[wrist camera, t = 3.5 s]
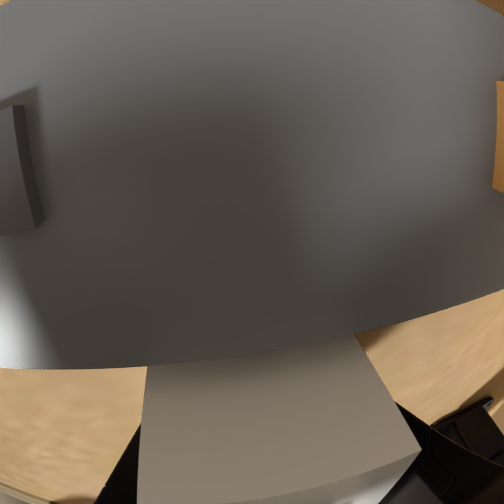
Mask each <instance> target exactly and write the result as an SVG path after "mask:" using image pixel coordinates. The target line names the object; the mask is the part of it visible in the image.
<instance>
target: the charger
mask: <svg viewBox="0 0 504 504" xmlns="http://www.w3.org/2000/svg"><path fill="white" fill-rule="evenodd" d="M421 450H422V449H421V447H420V446H419V444H418V442H417V440H416V438H415V437H414V435H413V433H412V431H411V430H410V428H409V426H408V424H407V423H406V421H405V419H404V417H403V416H402V414H401V412H400V410H399V409H398V407H397V405H396V404H395V402H394V400H393V398H392V397H391V395H390V393H389V392H388V390H387V388H386V387H385V385H384V383H383V382H382V380H381V378H380V377H379V375H378V373H377V372H376V370H375V368H374V367H373V365H372V363H371V362H370V360H369V358H368V357H367V355H366V353H365V352H364V350H363V349H362V347H361V345H360V344H359V342H358V341H357V339H356V337H355V336H354V334H353V335H348V336H344V337H340V338H335V339H330V340H326V341H321V342H316V343H311V344H306V345H301V346H296V347H290V348H285V349H279V350H274V351H268V352H262V353H255V354H249V355H242V356H235V357H228V358H221V359H213V360H205V361H196V362H187V363H177V364H166V365H155V366H148V367H147V375H146V383H145V392H144V401H143V411H142V421H141V433H140V447H139V462H138V483H137V504H378V503H379V502H380V501H381V500H382V499H383V497H384V496H385V495H386V494H387V493H388V492H389V491H390V489H391V488H392V487H393V486H394V485H395V484H396V482H397V481H398V480H399V479H400V477H401V476H402V475H403V474H404V473H405V471H406V470H407V469H408V467H409V466H410V465H411V464H412V462H413V461H414V460H415V458H416V457H417V456H418V454H419V453H420V451H421Z"/></svg>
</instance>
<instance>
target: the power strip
mask: <svg viewBox="0 0 504 504" xmlns="http://www.w3.org/2000/svg"><path fill="white" fill-rule="evenodd" d="M502 289H504V15H502V14H500V13H499V12H497V11H495V10H493V9H491V8H490V7H488V6H486V5H484V4H482V3H480V2H478V1H476V0H11V1H9V2H8V3H6V4H4V5H2V6H0V368H17V369H105V368H126V367H141V366H155V365H166V364H177V363H187V362H196V361H205V360H213V359H221V358H228V357H235V356H242V355H249V354H255V353H262V352H268V351H274V350H279V349H285V348H290V347H296V346H301V345H306V344H311V343H316V342H321V341H326V340H330V339H335V338H340V337H344V336H348V335H353V334H357V333H361V332H365V331H369V330H373V329H377V328H381V327H385V326H389V325H393V324H396V323H400V322H404V321H407V320H411V319H414V318H418V317H421V316H425V315H428V314H431V313H434V312H438V311H441V310H444V309H447V308H450V307H453V306H457V305H460V304H463V303H466V302H468V301H471V300H474V299H477V298H480V297H483V296H486V295H488V294H491V293H494V292H496V291H499V290H502Z"/></svg>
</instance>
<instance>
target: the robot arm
mask: <svg viewBox="0 0 504 504" xmlns="http://www.w3.org/2000/svg"><path fill="white" fill-rule="evenodd" d="M493 401H494V398H493V397H492V396H489V397H488V398H486V399H484V400H483V401H481V402H479V403H477V404H476V405H474V406H472V407H470V408H469V409H467V410H465V411H463V412H461V413H459V414H458V415H456V416H454V417H452V418H450V419H448V420H446V421H444V422H442V423H440V424H438V425H436V426H434V427H432V428H431V427H430V426H429V425H428V424H426V423H425V422H423V421H422V420H420V419H419V418H418V417H416V416H415V415H413V414H412V413H410V412H409V411H408V410H406V409H405V408H403V407H402V406H401V405H399V404H398V403H396V402H395V401H394V402H395V404H396V405H397V407H398V409H399V410H400V412H401V414H402V416H403V417H404V419H405V421H406V423H407V424H408V426H409V428H410V430H411V431H412V433H413V435H414V437H415V438H416V440H417V442H418V444H419V446H420V447H421V449H422V450H421V451H420V453H419V454H418V456H417V457H416V458H415V460H414V461H413V462H412V464H411V465H410V466H409V467H408V469H407V470H406V471H405V473H404V474H403V475H402V476H401V477H400V479H399V480H398V481H397V482H396V484H395V485H394V486H393V487H392V488H391V489H390V491H389V492H388V493H387V494H386V495H385V496H384V497H383V499H382V500H381V501H380V502H379V503H378V504H504V435H503V434H502V432H501V431H500V429H499V428H498V426H497V425H496V424H495V422H494V421H493V419H492V418H491V417H490V415H489V414H488V412H487V410H488V409H489V407H490V406H491V404H492V403H493ZM140 433H141V424H140V425H139V427H138V429H137V431H136V432H135V434H134V436H133V437H132V439H131V441H130V443H129V444H128V446H127V448H126V449H125V451H124V453H123V455H122V456H121V458H120V460H119V461H118V463H117V465H116V467H115V468H114V470H113V472H112V473H111V475H110V477H109V479H108V480H107V482H106V484H105V486H106V487H103V489H102V490H101V492H100V494H99V496H98V497H97V499H96V500H95V502H94V504H137V483H138V462H139V447H140Z"/></svg>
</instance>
